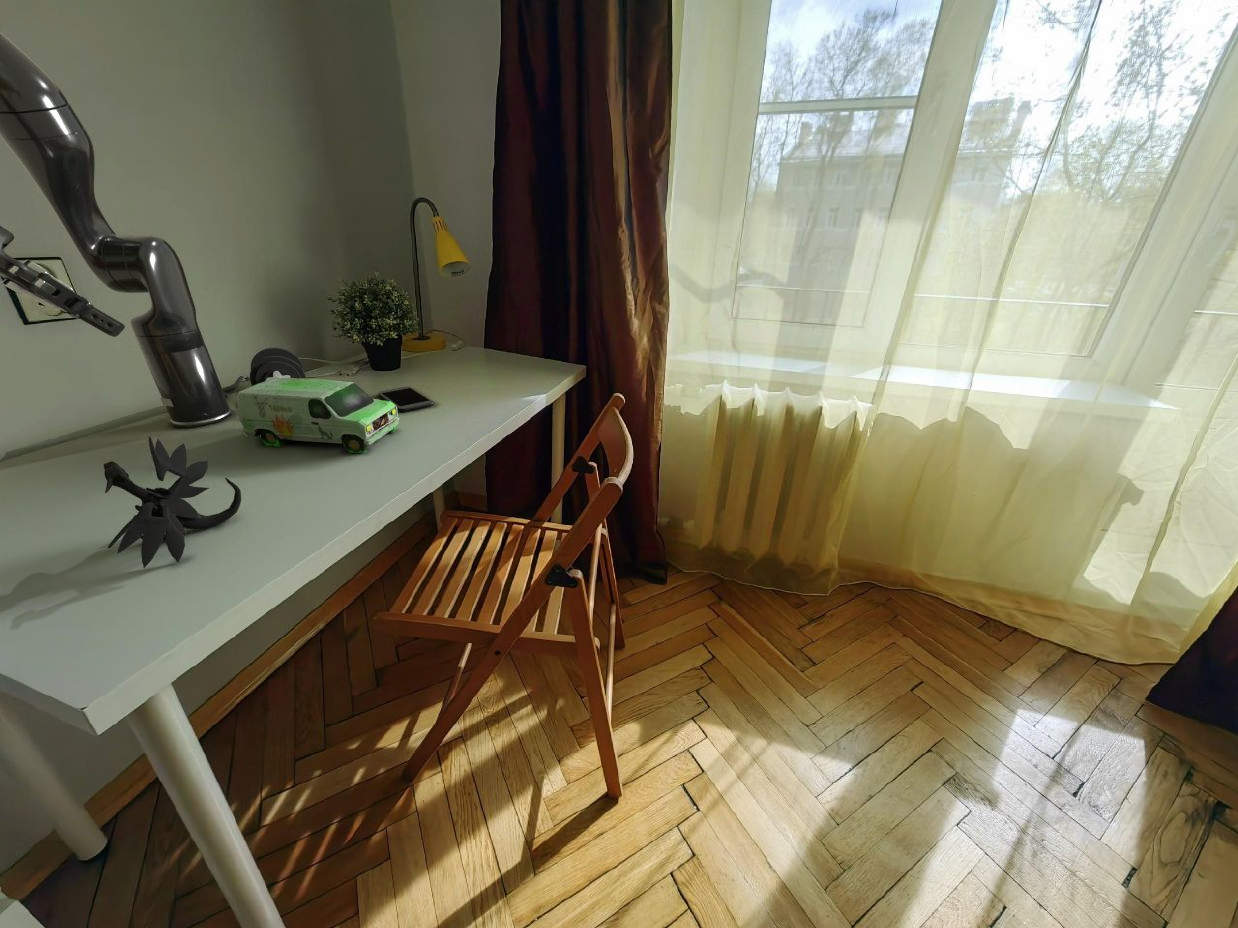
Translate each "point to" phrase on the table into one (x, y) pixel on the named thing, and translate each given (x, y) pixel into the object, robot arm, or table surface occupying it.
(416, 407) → the smartphone
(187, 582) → the table surface
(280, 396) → the toy car
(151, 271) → the robot arm
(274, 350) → the dumbbell
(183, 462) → the figurine
